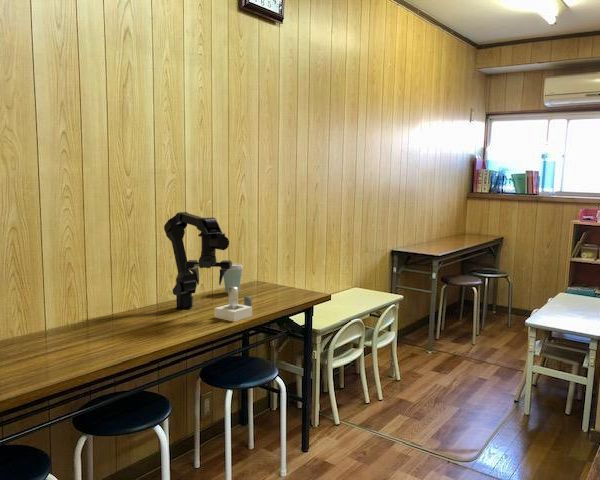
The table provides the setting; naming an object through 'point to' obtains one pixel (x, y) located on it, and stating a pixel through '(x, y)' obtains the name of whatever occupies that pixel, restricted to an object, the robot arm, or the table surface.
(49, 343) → the table surface
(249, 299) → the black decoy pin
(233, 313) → the socket block
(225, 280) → the disposable coffee cup
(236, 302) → the steel pin
